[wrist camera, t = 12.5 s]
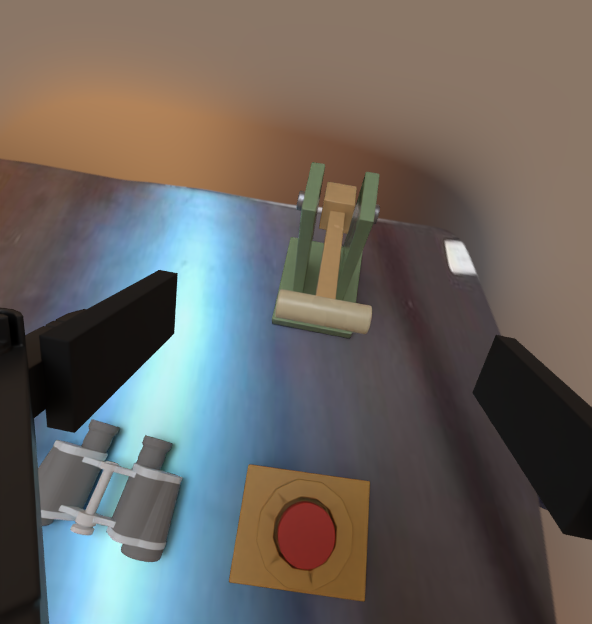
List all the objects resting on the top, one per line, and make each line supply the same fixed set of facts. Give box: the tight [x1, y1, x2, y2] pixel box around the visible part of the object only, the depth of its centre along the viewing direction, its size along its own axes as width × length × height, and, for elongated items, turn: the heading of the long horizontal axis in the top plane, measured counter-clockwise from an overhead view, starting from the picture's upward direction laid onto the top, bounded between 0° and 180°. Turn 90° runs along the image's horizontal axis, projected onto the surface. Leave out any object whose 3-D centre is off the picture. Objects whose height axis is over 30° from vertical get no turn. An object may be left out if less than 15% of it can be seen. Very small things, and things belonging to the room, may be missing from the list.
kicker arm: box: [275, 182, 372, 334], centre depth 24 cm, size 13×5×2 cm, turn 170°
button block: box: [229, 464, 370, 601], centre depth 28 cm, size 10×8×4 cm
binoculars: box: [38, 420, 182, 562], centre depth 29 cm, size 12×8×4 cm, turn 75°
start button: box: [278, 501, 335, 570], centre depth 26 cm, size 4×4×2 cm
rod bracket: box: [272, 162, 380, 338], centre depth 33 cm, size 10×8×15 cm
